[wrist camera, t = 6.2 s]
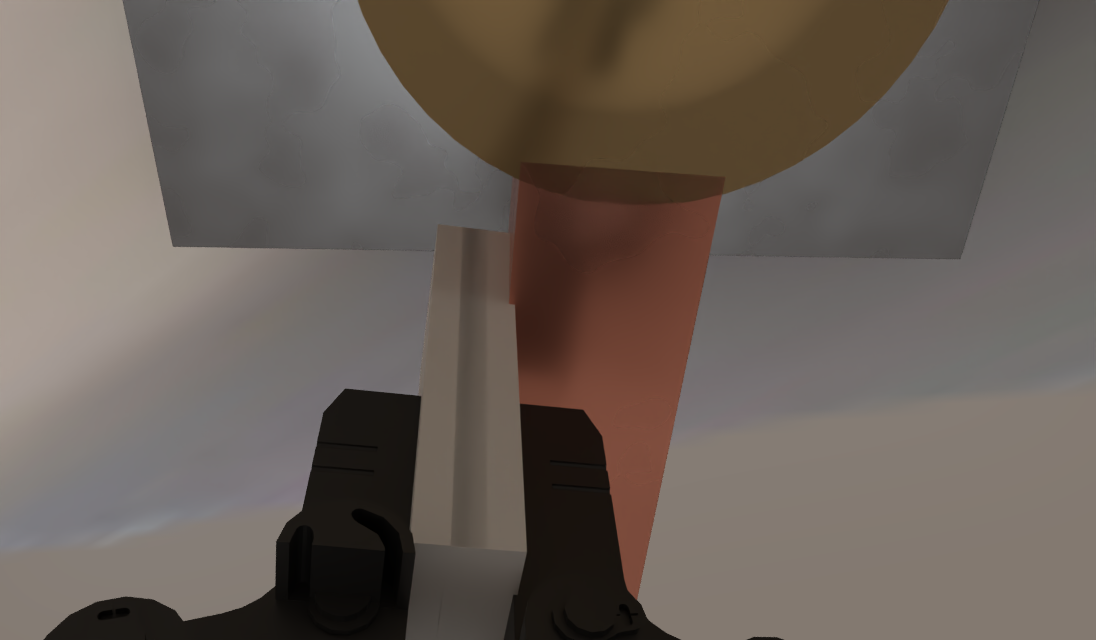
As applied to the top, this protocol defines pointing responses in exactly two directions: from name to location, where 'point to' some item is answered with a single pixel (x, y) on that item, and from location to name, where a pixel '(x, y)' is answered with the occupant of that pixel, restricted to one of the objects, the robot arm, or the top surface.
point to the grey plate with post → (485, 192)
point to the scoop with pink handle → (634, 171)
